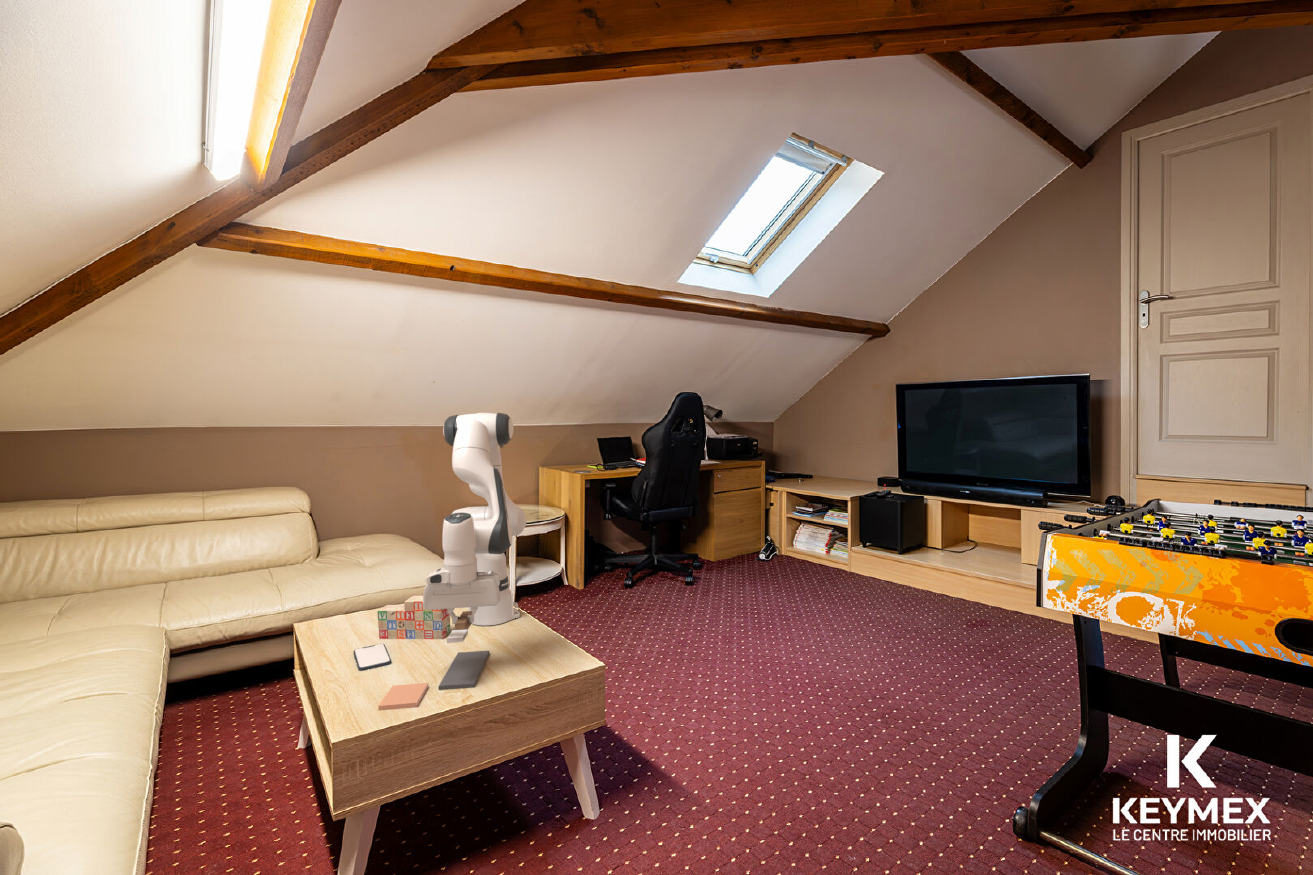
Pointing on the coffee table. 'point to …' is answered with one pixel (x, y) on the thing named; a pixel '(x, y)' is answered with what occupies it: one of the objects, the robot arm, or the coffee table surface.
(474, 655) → the rubber mat
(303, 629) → the coffee table surface
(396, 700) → the tile
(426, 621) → the stack of blocks
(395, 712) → the coffee table surface
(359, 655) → the smartphone
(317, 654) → the coffee table surface
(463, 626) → the brown handled tool
